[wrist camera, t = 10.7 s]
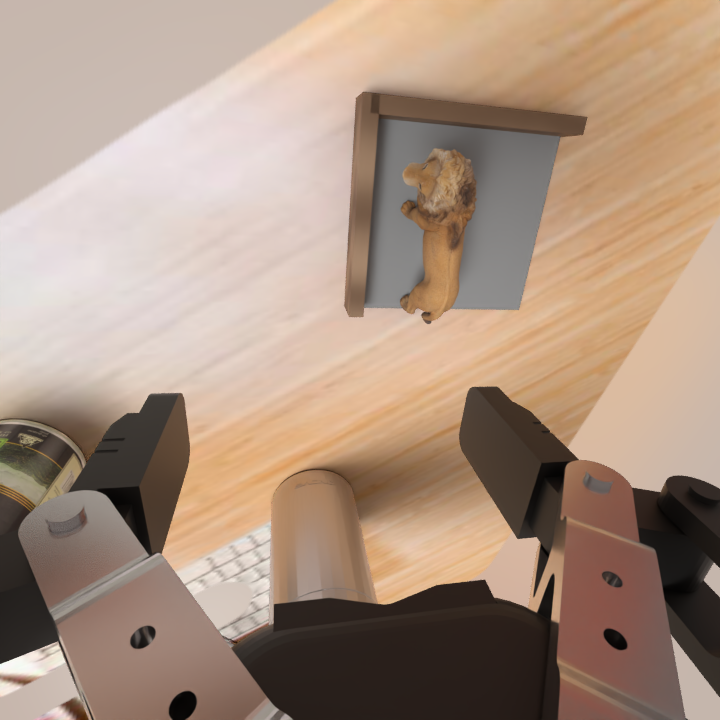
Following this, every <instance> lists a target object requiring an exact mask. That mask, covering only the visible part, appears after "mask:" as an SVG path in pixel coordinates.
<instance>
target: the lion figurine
mask: <svg viewBox="0 0 720 720" xmlns="http://www.w3.org/2000/svg"><path fill="white" fill-rule="evenodd" d="M402 177H403V179H404V182H405V183H406V184H407V185H409V186H414V187H417V188H418V189H417V193H418V194H417V207H416V206H415V203H414V202H410V201H406V202H405V203H403V205H402V207H401V212H402V213H403V214H404V215H405V216H406V217H407V218H408V219H411V220H413V221H414V222H415V223H416V224H417V225H418V226H419V227H420V228H421V229H422V230H424V234H423V266H424V270H425V278H424V280H423V281H422V282H420V283H419V284H417V285H416V286H415V287H414V288H413V289H412V291H411V292H410V295H405V296H403V297H402V298H401V299H400V305H401V307H402V308H403V309H404V310H405V311H407V312H408V313H410V314H414V312H415V309H417V308H419V309H421V310H423V311H425V312H424V313H422V315H421V316H422V318H423V320H424V321H425V323H427V324H430V323H431V321H433V320H436V319H438V318H439V317H440V316H441V315H442V314H443V313H444V312H446V311H448V310H449V309H450V308H451V307H452V306H453V305H454V303H455V301H456V298H457V296H458V293H459V270H460V264H461V258H462V252H463V242H464V234H465V227H466V225H467V222H468V221H469V220H471V219H472V214H473V213H474V211H475V208H476V207H475V202H476V201H477V198H475V197H476V184H477V182H476V180H475V179H474V174H473V167H472V166H471V160H470V159H465V157H464V156H463V155H462V154H461V153H459V152H457V151H456V150H455V149H454V150H452V151H449V150H448V151H446V150H443V149H437V148H435V149H433V151H432V152H431V153H430V154H429V156H428V158H427V159H426V160H425V163H422V164H418V163H414V162H412V163H410V164H409V165H408V166H407V167H406V168H405V169H404V171H403V176H402ZM427 312H430V313H427Z"/></svg>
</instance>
